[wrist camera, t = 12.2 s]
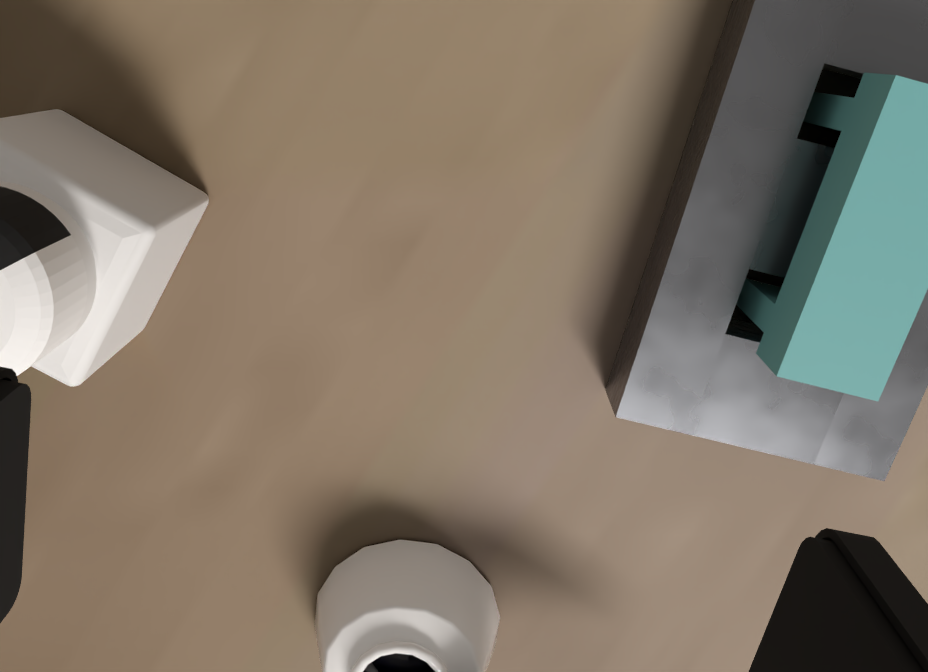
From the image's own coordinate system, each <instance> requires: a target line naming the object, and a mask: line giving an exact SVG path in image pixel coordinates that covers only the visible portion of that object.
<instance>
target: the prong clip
mask: <svg viewBox="0 0 928 672" xmlns="http://www.w3.org/2000/svg"><path fill="white" fill-rule="evenodd" d="M803 122H807V123H811V124H814V125H818V126H822V127H826V128H829V129H833V130H837V131H840V132H841V134H840V136H839V139H838V142H837V144H836V147H835V149H834V152H833V155H832V157H831V160H830V162H829V165H828V168H827V170H826V173H825V175H824V178H823V180H822V183H821V186H820V188H819V191H818V193H817V196H816V199H815V201H814V204H813V206H812V209H811V212H810V214H809V217H808V219H807V222H806V225H805V227H804V230H803V232H802V235H801V238H800V240H799V243H798V245H797V248H796V251H795V253H794V256H793V258H792V261H791V264H790V266H789V269H788V271H787V274H786V277H785V279H784V282H783V284H782V287H779V286H775V285H771V284H767V283H763V282H759V281H755V280H751V279H747V278H746V279H745V281H744V284H743V287H742V290H741V292H740V295H739V298H738V300H737V303H736V305H737V306H738V307H739V308H740V309H741V310H742V311H743V312H744V313H745V314H746V315H747V316H748V317H749V318H750V319H751V320H752V321H753V322H754V323H755V324H756V325H757V326H758V327H759V328H760V329H761V330H762V331H763V332H764V334H763V336H762V339H761V342H760V344H759V347H758V349H757V352H756V354H757V355H758V356H759V357H760V359H761V360H762V361H763V362H764V363H765V364H766V365H767V366H768V367H769V368H770V370H771V371H772V372H773V373H774V374H775V375H776V376H777V377H781V378H785V379H789V380H793V381H797V382H801V383H806V384H810V385H814V386H818V387H822V388H826V389H830V390H834V391H838V392H842V393H846V394H850V395H854V396H858V397H862V398H866V399H870V400H874V401H879V398H880V396H881V394H882V392H883V389H884V387H885V385H886V383H887V380H888V378H889V376H890V373H891V371H892V369H893V367H894V364H895V362H896V360H897V358H898V355H899V353H900V351H901V349H902V346H903V344H904V342H905V339H906V337H907V335H908V333H909V330H910V328H911V326H912V324H913V321H914V319H915V317H916V314H917V312H918V310H919V308H920V305H921V303H922V301H923V299H924V296H925V294H926V292H927V290H928V84H927V83H923V82H919V81H916V80H912V79H908V78H905V77H901V76H898V75H889V74H876V73H864V74H863V77H862V79H861V82H860V84H859V87H858V90H857V92H856V95H855V97H854V98H852V97H846V96H839V95H832V94H825V93H819V92H814V93H813V96H812V99H811V101H810V104H809V107H808V109H807V112H806V115H805V118H804V120H803Z"/></svg>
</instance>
